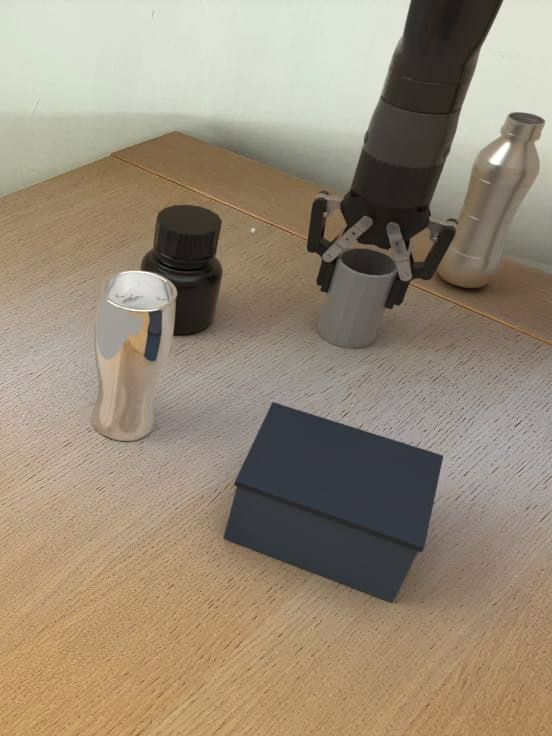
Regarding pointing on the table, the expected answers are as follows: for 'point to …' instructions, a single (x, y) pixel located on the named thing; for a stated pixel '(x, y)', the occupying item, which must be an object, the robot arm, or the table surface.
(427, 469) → the storage box
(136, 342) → the beer glass
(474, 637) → the table surface
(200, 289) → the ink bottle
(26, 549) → the table surface
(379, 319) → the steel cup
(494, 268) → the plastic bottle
